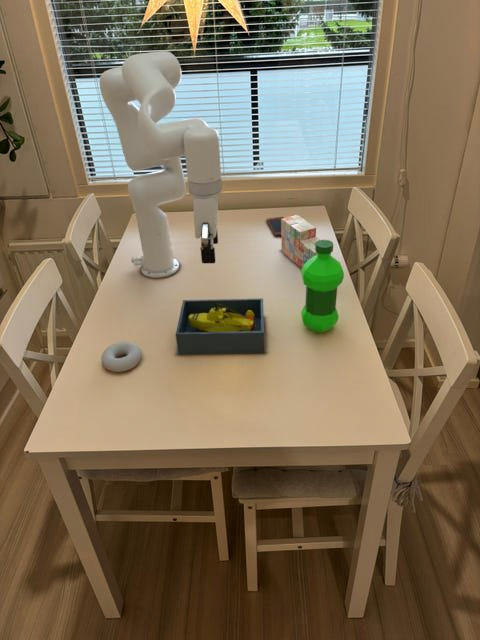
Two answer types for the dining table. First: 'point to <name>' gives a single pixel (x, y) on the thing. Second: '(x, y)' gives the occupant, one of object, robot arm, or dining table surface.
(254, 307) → the tote
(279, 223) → the smartphone
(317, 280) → the plastic bottle
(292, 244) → the stack of blocks
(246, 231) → the dining table surface
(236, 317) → the yellow toy submarine
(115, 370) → the donut
